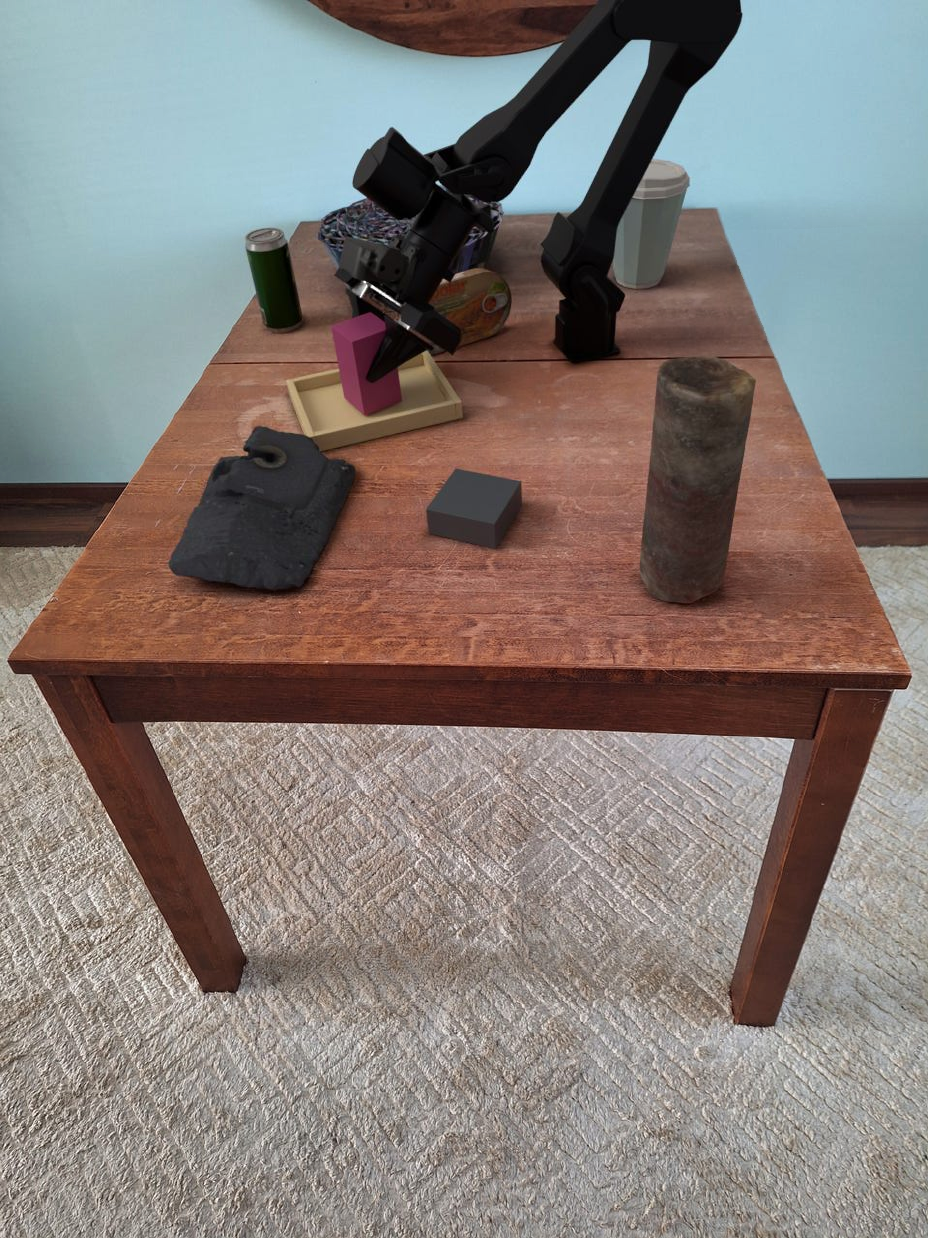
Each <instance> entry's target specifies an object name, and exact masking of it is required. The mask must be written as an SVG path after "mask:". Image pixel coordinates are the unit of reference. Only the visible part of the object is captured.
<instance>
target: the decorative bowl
mask: <svg viewBox="0 0 928 1238" xmlns="http://www.w3.org/2000/svg"><path fill="white" fill-rule="evenodd" d="M438 185H439V186H440V187H441V188H442V189H443V190H445V191H446V192H447V193H450V191H449V190H448V189H446V188H445V187H444V186H443V185H441V184H438ZM464 195H465V196H467V197H468V198H469V199H470V200H471V201H473V202H474V203H475V204H476V205H477V204H480V203H485V204H488V205H490V206H491V217H492V220H493V224H494V232H493V233H489V232H486V231H483V230H480V229H478V228H476V227H475V226H474V228H473V229H472V231H471V233H470V234H469V236H468V238H467V239H466V241H465V243H464V244H463V246H462V248H461V250H460V251H459V253H458V255H457V256H456V258H455V260H454V261H453V263H452V265H451V266H450V268H449V270H450V271H451V272H453V273H454V274H457V273H460V272H464V271H467V270H471V269H475V268H483V269H487V268H488V265H489V260H490V258H491V254H492V251H493V249H494V245H495V240H496V238H497V234H498V231H499V227H500V225H501V224H502V223H503V222H504V219H503V216H504V214H505V212H504V209H503V204H502V202H501V201H499V202H483V201H480V200H478V199H477V198H475V197H474V196H473V195H467V194H464ZM416 217H417V216H415V217H413V218H412V219H411V220H408V219H407V218H404V219H403V220H399V221H398V220H396V219H395V218H393V217H392V216H391V215H389V214H388V213H387V212H386V211H384V210H383V209H382V208H380V207H379V206H378V205H376V204H375V203H374V202H372V201H371V200H370V199H368V198H367V197H365V198H363V199H360V200H357V201H354V202H352V203H351V204H350V205H348V206H344V207H341V208H337V209H335V210H332V211H330V212H328V213H327V214H326V215H324V217H322V218H321V219H320V222H321V223H320V225H321V226H320V227H319V228H318V229H319V230H318V231H317V239H318V241H320V242H321V243H322V245H323V246H324V248H325V250H326V252H327V254H328V256H329V258H330V259H331V261H332V263H333V265H334V267H335V269H336V271H337V270H338V268H339V263H340V258H341V254H342V249H343V245H344V240H345V237H352V238H356V239H361V240H365V241H370V242H375V243H378V244H380V243H384V244H385V245H388V244H389V243H390V241H391V239H392V238H393V237H394V236H395V237H396V235H399V236H401V237H403V238H405V236H406V234H407V232H408V231H409V229H410V227H411V225H412V224H413V222H414V220H415V218H416ZM343 284H344V285H345V286H346V288H347V289H348V290H350V291H352V289H353V288H352V287H351V286H349V285H347V284H346V283H344V282H343ZM394 298H395V297H394ZM394 304H395V303H394ZM397 306H398V305H397Z"/></svg>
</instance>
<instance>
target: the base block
mask: <svg viewBox="0 0 928 1238" xmlns="http://www.w3.org/2000/svg"><path fill="white" fill-rule="evenodd" d="M522 489H523V488H522V481H521V480H515V479H512V478H507V477H502V476H498V475H497V476H496V475H491V474H487V473H486V474H485V473H481V472H476V471H472V470H467V469H460V468H454V470H453V471H452V472H451V474H450V476H449V477H447V479H446V481H445V482H444V483H443V484H442V486H441V488H440V489H439V490H438V492H437V493H436V494H435V496H434V497H433V499H432V500H431V501H430V503H429V504H428V505H427V506H426V508H425V513H426V522H427V530H428V535H433V536H437V537H442V538H446V539H451V540H455V541H459V542H465V543H468V544H473V545H478V546H481V547H486V548H491V549H497V547H499V544H500V543H501V541H502V539H503V538H504V536H505V534H506V533H507V531H508V529H509V527H511V525H512V523H513V521H514V519H515V518H516V517H517V515H518V513H519V512H520V510H521V508H522V507H523V499H522V498H523V496H522V495H523V494H522Z"/></svg>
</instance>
